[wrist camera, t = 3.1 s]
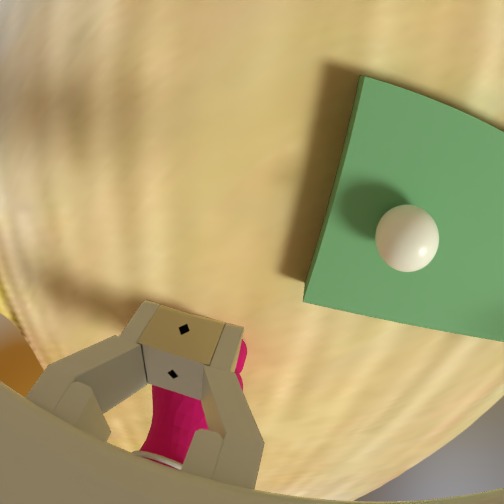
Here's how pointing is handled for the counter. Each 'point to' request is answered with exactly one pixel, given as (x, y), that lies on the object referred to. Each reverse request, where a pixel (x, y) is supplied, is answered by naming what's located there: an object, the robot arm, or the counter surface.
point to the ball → (407, 238)
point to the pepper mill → (177, 422)
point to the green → (421, 195)
